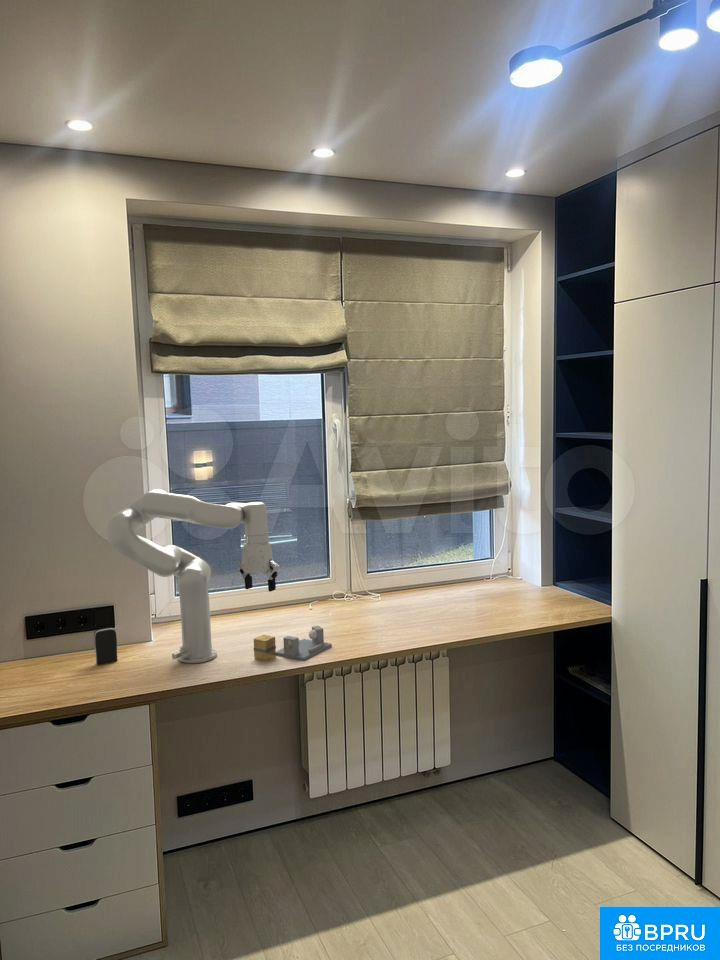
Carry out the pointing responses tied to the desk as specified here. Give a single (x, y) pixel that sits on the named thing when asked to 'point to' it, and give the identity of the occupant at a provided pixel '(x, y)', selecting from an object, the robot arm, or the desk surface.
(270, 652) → the yellow rectangular block
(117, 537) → the robot arm
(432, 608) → the desk surface
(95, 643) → the battery charger
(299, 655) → the grey mounting bracket
